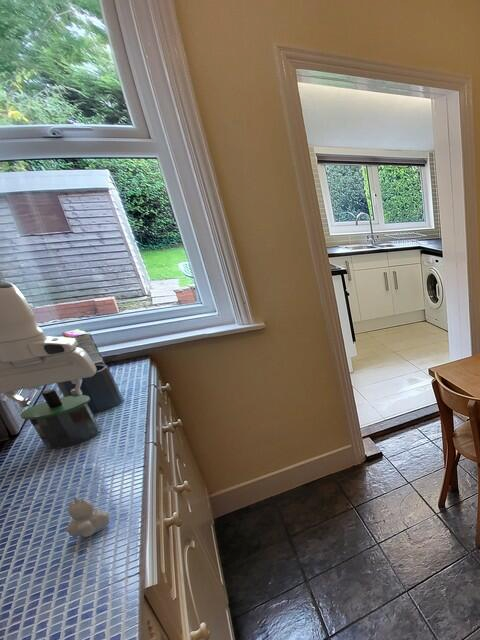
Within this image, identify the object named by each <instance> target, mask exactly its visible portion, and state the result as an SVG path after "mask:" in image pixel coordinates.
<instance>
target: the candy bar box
mask: <svg viewBox="0 0 480 640" xmlns="http://www.w3.org/2000/svg"><path fill="white" fill-rule="evenodd" d="M61 335H62V337H66V338H74V339H76V340H77V342H78V345H77V347H78V348H81V349H83V350H84V351H86V352H87V354H88V355H89V356H90V358H91V359H92V361H93V362H96V361H100V360H101V361H104V364H105V365H106V363H105V359H104V358H103V356H102V355H101V353H100V351H99V348H98V346H97V344H96V343H95V341H94V339H93V336H92V334H91V333H90V332H87V331H84V330H83V329H72V330H68V331H63V332H61ZM106 366H107V365H106Z"/></svg>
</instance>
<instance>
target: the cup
mask: <svg viewBox="0 0 480 640" xmlns="http://www.w3.org/2000/svg"><path fill="white" fill-rule="evenodd" d="M29 421H30V423H31V425H32V426H33V428H34V430H35V432H36V433H37V435H38V437H39V438H40V440H41V441H42V443H43V445H44V446H45V447H46V448H47V449H48V450H58V449H64V448H69V447H72V446H73V447H74V446H75V445H79V444H81V443H84V442H87V441H89V440H91V439H93V438H95V437H96V436H98V434H100V433H101V427H100V425H99V423H98V422H97V419H96V418H95V415H94V413H93V414H92V412H91V410H90V408H89V406H88V405H87V404H85V405H83V406H81V407H79V408H77V409H75V410H72V411H69V412H66V413H63V414H60V415H56V416H52V417H47V418H41V419H32V420H29Z"/></svg>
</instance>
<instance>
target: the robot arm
mask: <svg viewBox="0 0 480 640" xmlns="http://www.w3.org/2000/svg"><path fill="white" fill-rule="evenodd" d="M77 345H78V342H77V340H76V339H74V338H66V337H63V336H52V335H51V336H49V335H46V334H45V332H44V330H43V329H42V328H41V327H40V326H39V325H38V323H37V320H36V315H35V313H34V311H33V308H32V307H31V305H30V303H29V302H28V300H27V299H26V297H25V296H24V294H23V293H22V292H21V291H20V290H19V288H17V286H15V285H14V283H12V282H9V281H6V280H2V279H0V394H4V395H5V396H6V398H9V399H10V400H12V401H15V402H17V403H18V405H19V407H20V408H21V409H22V408H28V407H31V405H32V401H31V400H30V398H29V397H22V396H21V395H19V394H18V391H21V390H26V389H27V390H28V389H33V388H37V387H44V386H49V385H54V384H57V383H60V382H65V381H71V382H72V384H76V386H75V389H72V390H71V391H70V392H71V394H73V395H72V396H73V397H77V396H81V395H82V391H81V389H80V387H81V383H82V378H87V377H92V376H93V375H94V374H95V373H96V371H97V368H96V366H95V364H94V362H93V361H92V359H91V358H90V356H89V355H88V354H87V352H86V351H84V350H83V349H81V348H78V347H77Z"/></svg>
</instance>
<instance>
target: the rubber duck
mask: <svg viewBox="0 0 480 640" xmlns="http://www.w3.org/2000/svg"><path fill="white" fill-rule="evenodd" d="M67 513H68V515H69V516H70V518H71V520H70V521H69V522H68V523H67V525H66V533H68V535H69V536H72V537H73V538H75V537H82V538H87V537H91V536H93V535H94V534H96V533H98V532H100V531H102V530H103V529H105V528H106V526H108V525H109V523H110V514H109V513H108V512H107V511H106V510H102V509H100V508H95V506H94V504H93V503H92V502H91V501H90V500H86V499H84V498H80V500H79V498H78V497H76V496H75V495H73V502H69V504H68V509H67Z"/></svg>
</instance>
